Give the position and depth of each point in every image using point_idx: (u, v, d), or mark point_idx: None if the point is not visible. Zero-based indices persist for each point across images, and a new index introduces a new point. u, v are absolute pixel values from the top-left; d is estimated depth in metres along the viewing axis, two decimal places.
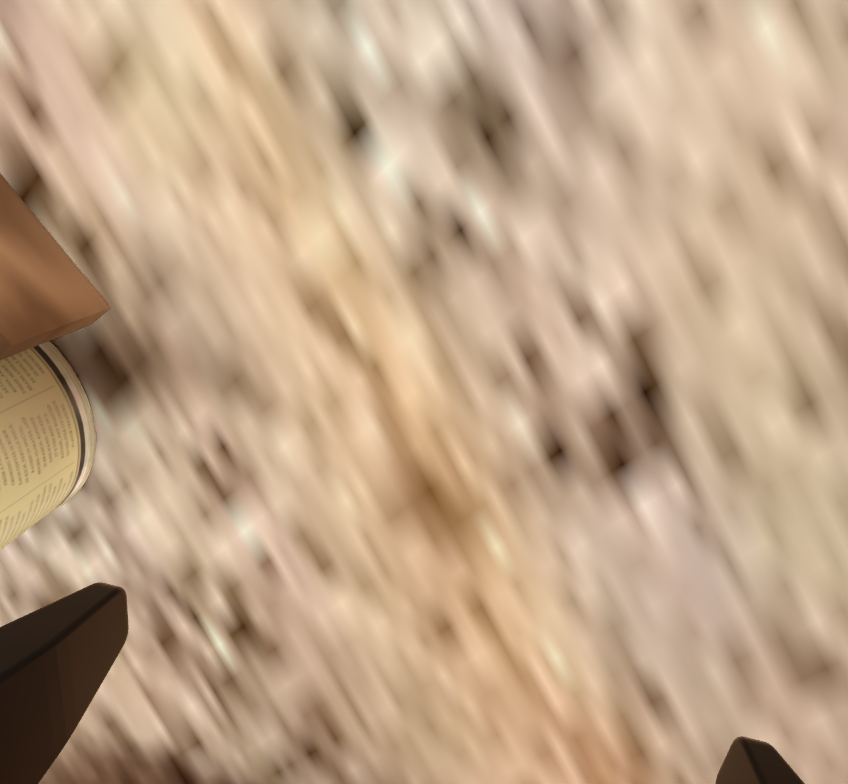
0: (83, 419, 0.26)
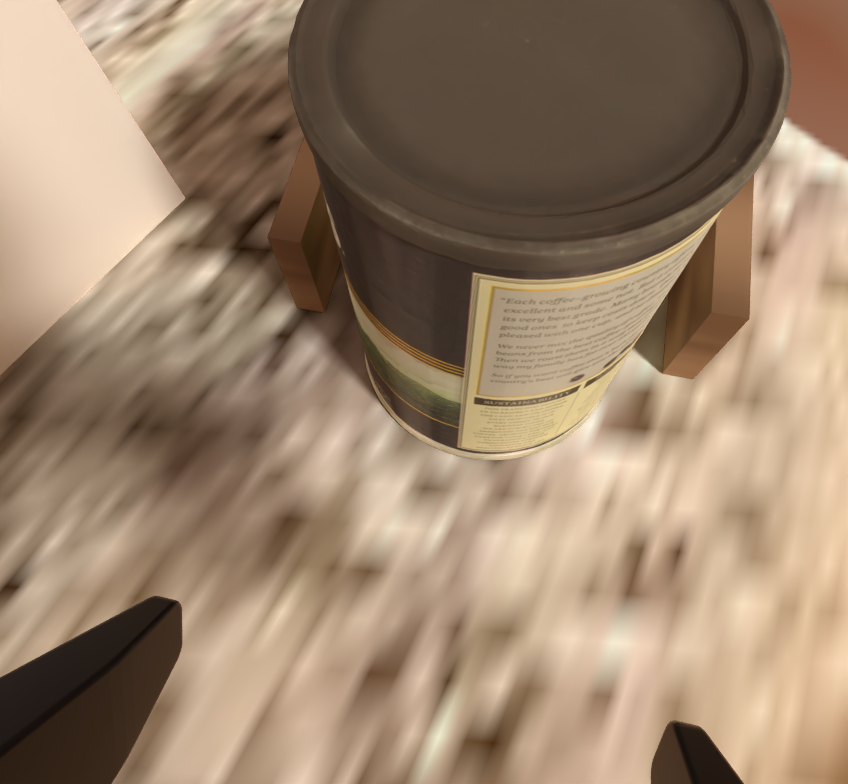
0: (584, 418, 0.24)
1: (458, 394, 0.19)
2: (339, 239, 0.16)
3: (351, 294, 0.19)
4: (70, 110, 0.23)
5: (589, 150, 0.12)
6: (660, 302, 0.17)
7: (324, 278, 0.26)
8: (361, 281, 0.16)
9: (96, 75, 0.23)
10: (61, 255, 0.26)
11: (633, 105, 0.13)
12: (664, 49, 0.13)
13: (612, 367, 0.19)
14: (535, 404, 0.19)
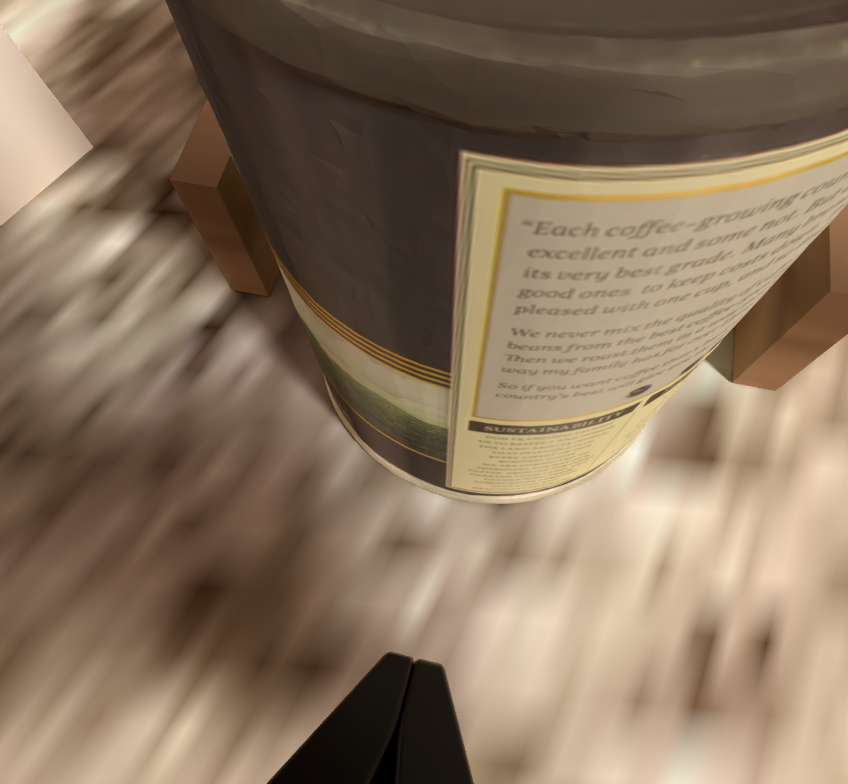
0: (626, 445, 0.17)
1: (442, 416, 0.12)
2: (225, 139, 0.09)
3: None
4: None
5: None
6: None
7: (265, 248, 0.19)
8: (267, 217, 0.09)
9: None
10: None
11: None
12: None
13: (689, 373, 0.12)
14: (567, 431, 0.12)
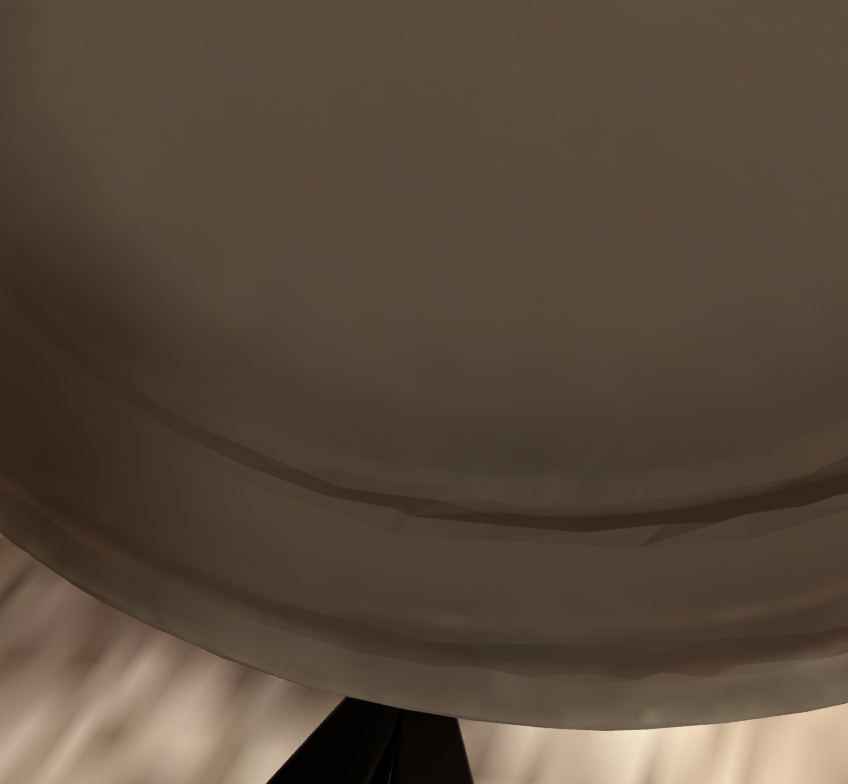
0: None
1: None
2: None
3: None
4: None
5: (719, 254, 0.04)
6: None
7: None
8: None
9: None
10: None
11: (844, 102, 0.04)
12: None
13: None
14: None
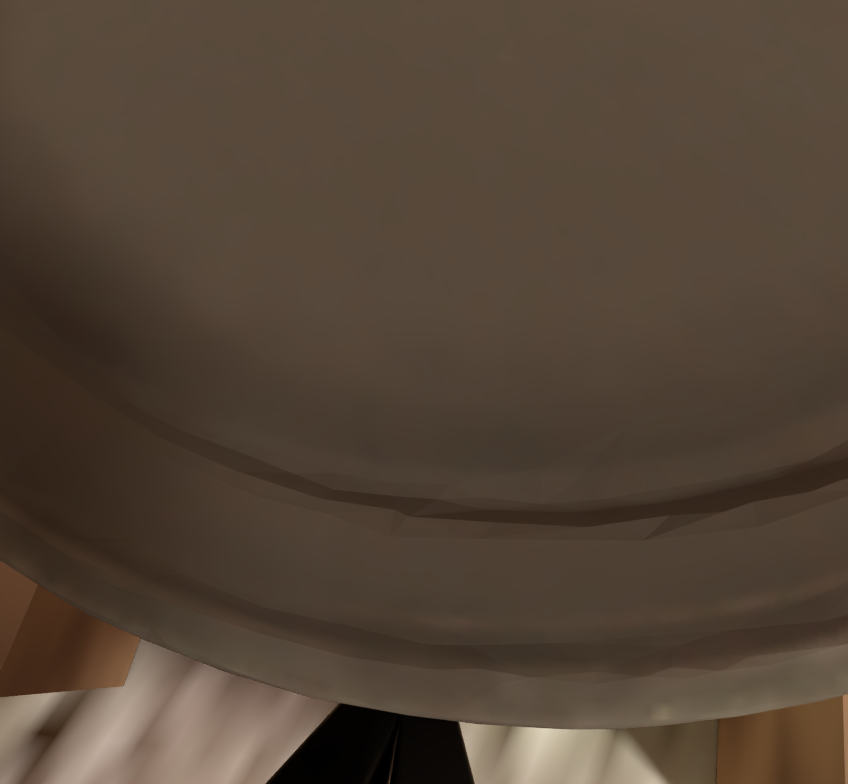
0: None
1: None
2: None
3: None
4: None
5: (712, 239, 0.04)
6: None
7: (110, 648, 0.15)
8: None
9: None
10: None
11: (832, 83, 0.04)
12: None
13: None
14: None
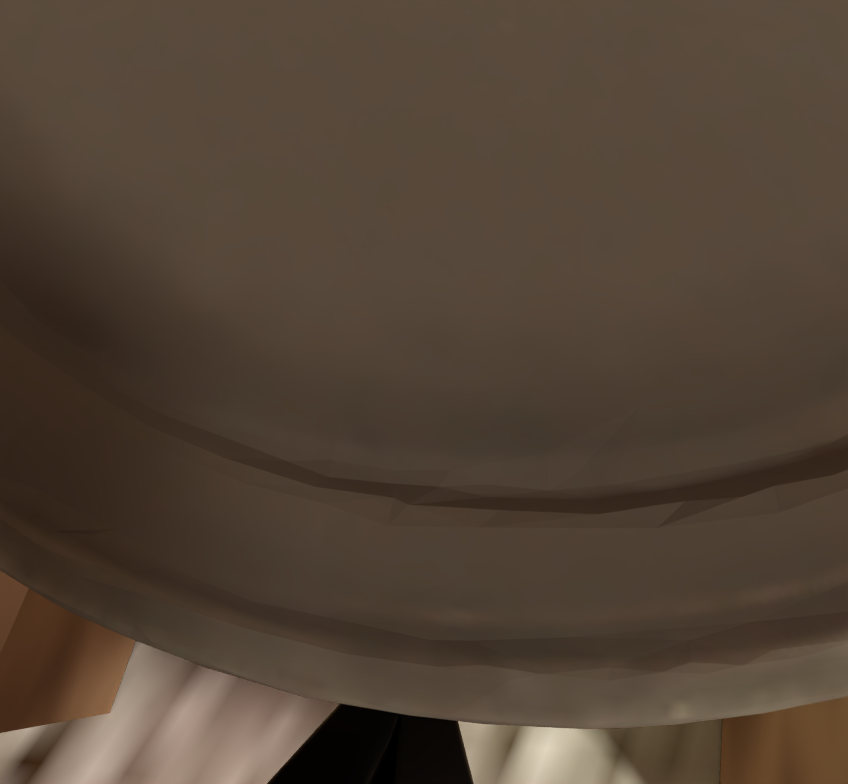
0: None
1: None
2: None
3: None
4: None
5: (728, 212, 0.03)
6: None
7: (94, 676, 0.14)
8: None
9: None
10: None
11: None
12: None
13: None
14: None
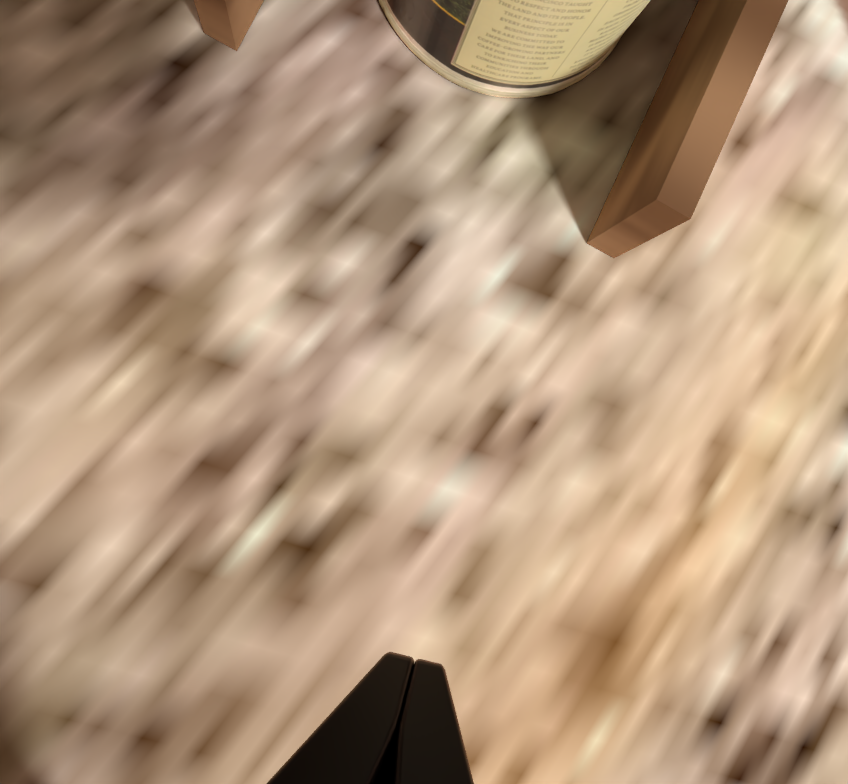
0: (583, 73, 0.23)
1: None
2: None
3: None
4: None
5: None
6: None
7: (243, 5, 0.21)
8: None
9: None
10: None
11: None
12: None
13: None
14: None
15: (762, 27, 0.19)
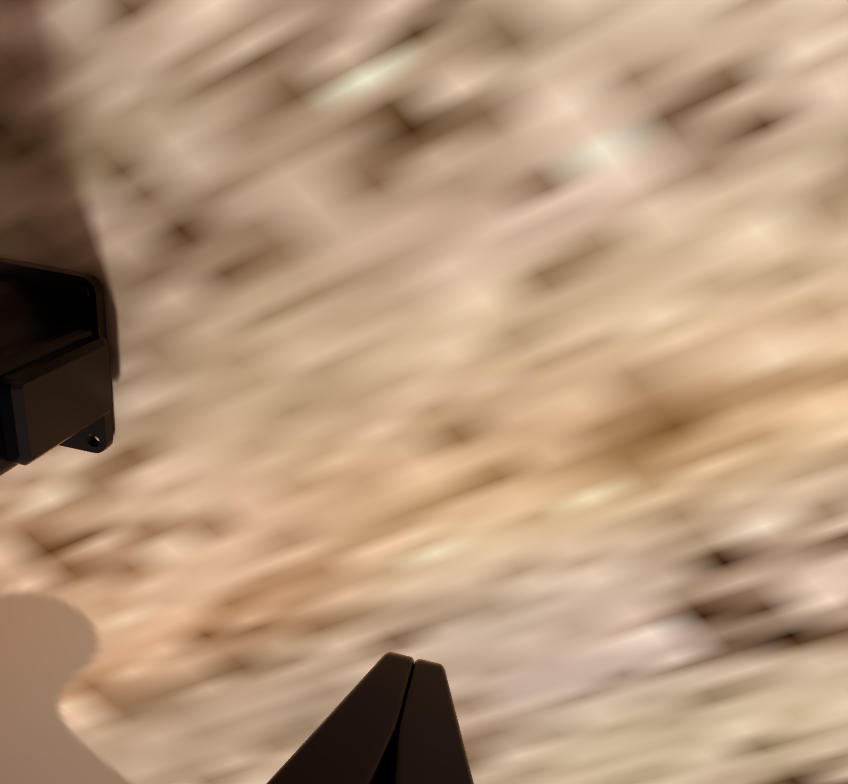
0: None
1: None
2: None
3: None
4: None
5: None
6: None
7: None
8: None
9: None
10: None
11: None
12: None
13: None
14: None
15: None
